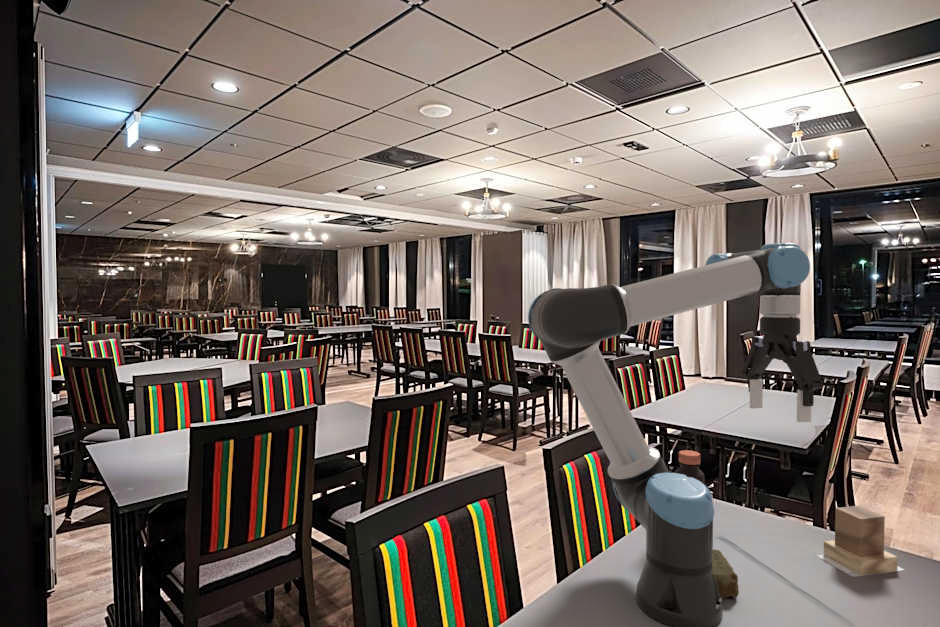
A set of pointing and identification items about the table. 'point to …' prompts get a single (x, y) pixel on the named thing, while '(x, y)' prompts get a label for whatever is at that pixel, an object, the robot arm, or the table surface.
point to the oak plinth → (861, 560)
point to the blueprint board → (845, 567)
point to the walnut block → (859, 531)
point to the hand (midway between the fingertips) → (778, 414)
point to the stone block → (724, 576)
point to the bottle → (690, 465)
